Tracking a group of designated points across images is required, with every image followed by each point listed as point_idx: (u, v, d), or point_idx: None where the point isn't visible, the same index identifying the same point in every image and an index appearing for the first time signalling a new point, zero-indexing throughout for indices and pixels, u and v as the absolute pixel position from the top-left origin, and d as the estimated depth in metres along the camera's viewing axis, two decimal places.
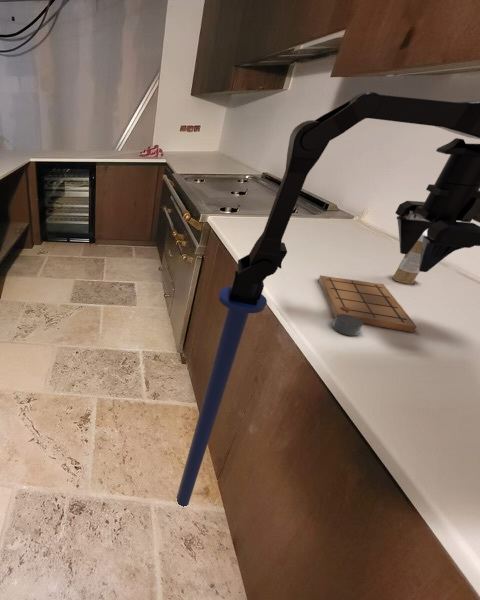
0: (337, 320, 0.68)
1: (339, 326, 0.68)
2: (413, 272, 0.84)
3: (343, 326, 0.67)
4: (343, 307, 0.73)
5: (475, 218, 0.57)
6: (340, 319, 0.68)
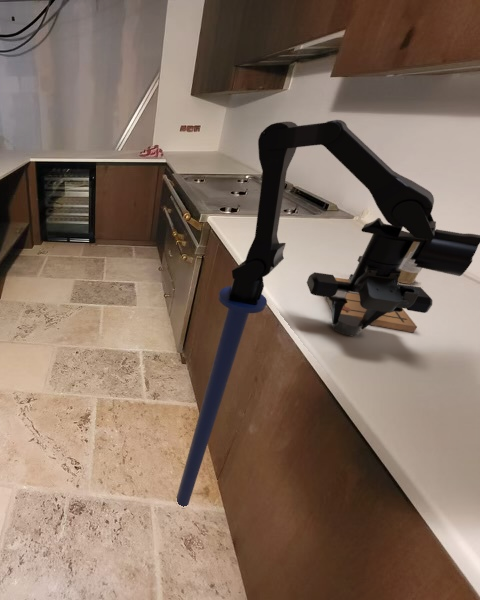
0: (337, 320, 0.68)
1: (339, 326, 0.68)
2: (413, 272, 0.84)
3: (343, 326, 0.67)
4: (343, 307, 0.73)
5: (359, 290, 0.61)
6: (340, 319, 0.68)
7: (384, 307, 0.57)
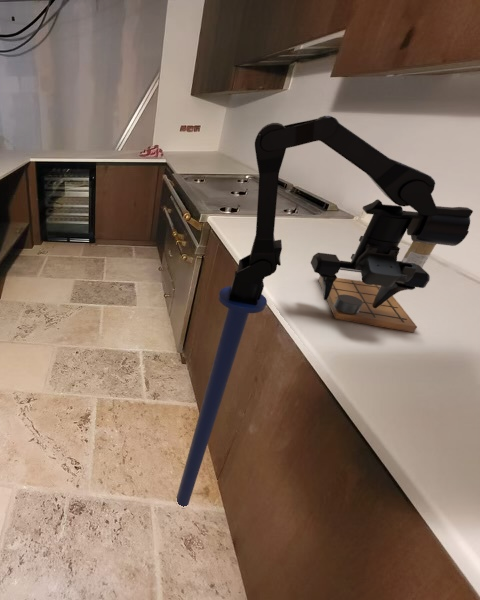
0: (338, 299, 0.72)
1: (341, 305, 0.72)
2: None
3: (344, 305, 0.71)
4: None
5: (361, 267, 0.65)
6: (341, 299, 0.72)
7: (384, 282, 0.61)
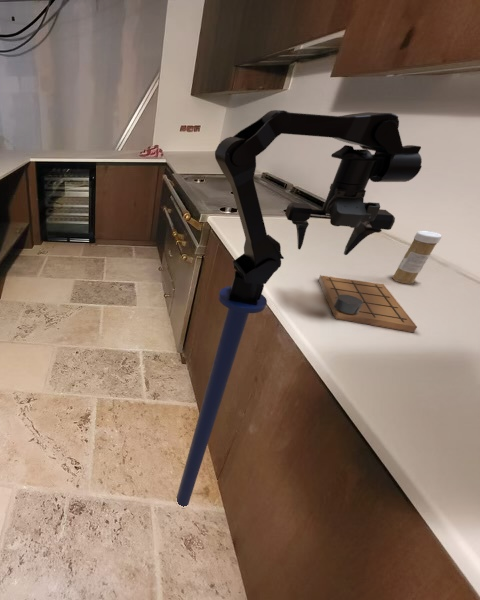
0: (338, 299, 0.72)
1: (341, 305, 0.72)
2: (413, 272, 0.84)
3: (344, 305, 0.71)
4: None
5: (330, 212, 0.67)
6: (341, 299, 0.72)
7: (350, 222, 0.64)
